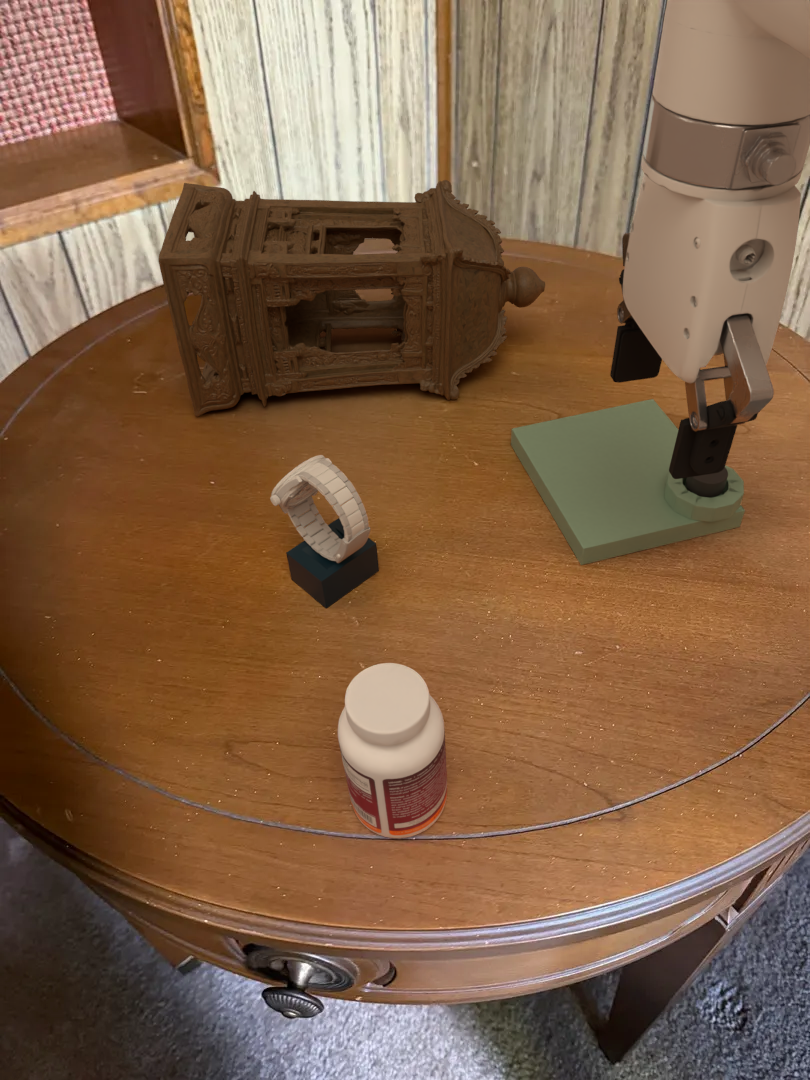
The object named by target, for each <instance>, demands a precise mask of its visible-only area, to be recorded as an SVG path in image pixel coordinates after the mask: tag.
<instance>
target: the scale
mask: <svg viewBox="0 0 810 1080" xmlns="http://www.w3.org/2000/svg"><path fill="white" fill-rule="evenodd" d="M678 430H679V427H677V426H676V425H675V424H674V422H673V421H672V420H671V419H670V417H669V416H668V415H667V414H666V413H665V411H663V409H662V408H661V407H660V406H659V404H658V402H656V400H655V399H654V398H651V399H645V400H641V401H637V402H631V403H626V404H621V405H616V406H612V407H607V408H603V409H598V410H594V411H589V412H584V413H579V414H574V415H570V416H565V417H560V418H555V419H550V420H546V421H541V422H536V423H532V424H526V425H521V426H517V427H513V428H511V432H510V433H511V434H510V446H511V448H512V449H513V451H514V453H515V455H516V457H517V458H518V460H519V461H520V463H521V465H522V466H523V468H524V470H525V472H526V474H527V475H528V477H529V478H530V480H531V482H532V484H533V486H534V487H535V489H536V491H537V493H538V494H539V496H540V498H541V500H542V501H543V502H544V505H545V506H546V508H547V510H548V511H549V513H550V515H551V517H552V518H553V519H554V521H555V523H556V525H557V526H558V529H559V530H560V532H561V533H562V535H563V537H564V539H565V540H566V542H567V544H568V545H569V547H570V549H571V551H572V552H573V554H574V556H575V557H576V559H577V561H578V562H579V564H580V566H584V565H588V564H592V563H596V562H599V561H605V560H609V559H612V558H616V557H617V558H618V557H621V556H625V555H629V554H633V553H637V552H642V551H646V550H649V549H654V548H657V547H658V548H659V547H662V546H667V545H671V544H675V543H679V542H683V541H687V540H692V539H696V538H700V537H704V536H708V535H711V534H717V533H721V532H725V531H729V530H732V529H737V528H741V525H742V522H743V519H744V515H745V512H746V509H745V508H744V507H743V506H742V502H743V498H744V495H745V482H744V480H743V478H742V477H741V476H740V475H739V474H738V473H737V472H736V470H735V469H734V468H733V467H731V466H728V465H727V464H726V465H725V468H726V469H727V471H728V477H727V481H726V484H725V488H724V491H723V492H722V493H721V494H720V495H719V496H716V497H712V498H708V497H701V496H698V495H696V494H694V493H692V492H690V491H689V490H688V489H687V487H686V478H681V479H674V478H673V477H672V475H671V474H670V472H669V467H670V463H671V459H672V455H673V450H674V446H675V442H676V438H677V434H678Z"/></svg>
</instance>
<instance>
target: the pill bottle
mask: <svg viewBox="0 0 810 1080" xmlns="http://www.w3.org/2000/svg"><path fill="white" fill-rule="evenodd" d="M428 687H429V686H428V685H427V682H426V680H425V679H424V678H423V677H422V676H421V674H420V673H419V672H417V671H416V670H415V669H413V668H411V667H409V666H408V665H404V664H401V663H396V662H382V663H377V664H374V665H371V666H368V667H366V668H364V669H363V670H361V671H360V672H359V673H357V674H356V675H355V676H354V677H353V678H352V679H351V680H350V682H349V684H348V686H347V688H346V691H345V695H344V706H343V708H342V711H341V713H340V715H339V718H338V722H337V739H338V740H337V741H338V746H339V751H340V755H341V761H342V765H343V769H344V774H345V779H346V784H347V789H348V795H349V799H350V804H351V806H352V809H353V812H354V813H355V816H356V817H357V819H358V820H359V821H360V823H361V824H362V825H363V826H364V827H365V828H367V829H368V830H369V831H370V832H372V833H375V834H377V835H378V836H381V837H385V838H390V839H405V838H411V837H415V836H417V835H420V834H421V833H423V832H425V831H427V830H428V829H430V828H431V827H432V826H433V825H434V824H435V823H436V822H437V821H438V820H439V818H440V816H441V815H442V813H443V811H444V809H445V806H446V803H447V798H448V770H447V749H446V731H445V730H446V729H445V721H444V716H443V713H442V710H441V708H440V706H439V704H438V703H437V701H436V700H435V699H434V697H433V696H432V695H431V694H430V689H429V688H428Z"/></svg>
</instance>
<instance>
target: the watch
mask: <svg viewBox="0 0 810 1080" xmlns="http://www.w3.org/2000/svg"><path fill="white" fill-rule="evenodd" d="M318 492H319V493H320V494H321V495H322V496H324V499H325V500H326V501H327V502H328V504H329V505H330V506H331V507H332V509H333V511H334V512H335V513H336V515H337V517H338V518H336V519H335V520H333V521H331V522H330V523H326V522H325V520H324V518H323V516H322V515H321V513H319V512H320V511H319V509H318V507H317V505H316V504H315V501H314V498H313V497H315V496H316V495H317V494H318ZM269 500H270V502H271V504H272V505H273V506H274V507H277V506H279V508H280V509H281V511H282V512H283V513H284V514H285V515H286V514H287V515H288V517H289V519H290V521H291V523H292V525H293V527H294V528H295V530H296V531H297V532H298V534H299V536H300V537H301V538H302V539H303V541H301V542H300V543H298V544H297V545H295V546H293V547H291V549H289V550H288V551H286V552H285V554H286V560H287V564H288V569H289V574H290V578H291V581H292V582H294V583H295V584H296V585H297V586H299V588H301V589H302V590H303V591H304V592H306V593H307V594H308V595H309V596H310V597H312V598H313V599H314V600H315V601H316V602H317V603H319V605H321V606H322V607H323V608H325V609H328V608H329V607H331V606H332V605H333V604H335V603H336V602H338V601H339V600H341V599H342V598H344V597H345V596H347V595H348V594H349V593H351V592H352V591H353V590H354V589H356V588H357V587H358V586H360V585H361V584H363V583H364V582H366V581H367V580H368V579H370V578H371V577H372V576H374V575H376V574H377V573H378V572H380V568H379V567H380V566H379V557H378V547H377V546H378V545H377V542H375V541H374V540H372V538H369V537H370V534H371V527H370V524H369V523H370V522H369V516H368V513H367V511H366V508H365V505H364V503H363V501H362V498H361V497H360V494H359V492H358V491H357V489H356V487H355V486H354V484H353V482H352V481H351V480H350V479H349V478H348V477H347V476H346V474H345V473H344V472H343V471H342V470H340V468H339V467H338V466H337V465H335V464H334V463H333V462H332V460H331V459H330V458H328V457H325V456H324V455H323V454H318V455H315V456H312V457H310V458H308V459H306V460H304V461H302V462H300V463H299V464H298V465H297V466H296V467H294V468H293V469H291V470H290V471H289V472H287V474H286V475H284V476H283V477H282V478H281V479H280V480H279V481H278V482H277V483H276V485H275V486H274V487H273V489H272V491H271V495H270V498H269Z"/></svg>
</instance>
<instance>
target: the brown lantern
mask: <svg viewBox="0 0 810 1080" xmlns="http://www.w3.org/2000/svg"><path fill="white" fill-rule="evenodd" d="M452 188H453V187H452V183H451V182H450V180H448V179H444V180H439V181H438V182H437V183H436V186H435V187H431V188H429V189H427V190H426V191H423V192H416V193H415V194H414V202H412V201H411V202H410V201H366V200H365V201H363V200H361V201H358V200H356V201H355V200H327V199H326V200H325V199H284V198H283V199H279V198H278V199H276V198H274V199H273V198H261V195H260V194H258V193H257V192H256V191H255V190H253V191H252V194H250V195H249V198H245V199H244V200H236V198H233V194H232V192H231V191H229V189H228V188H224V187H220V186H209V185H203V184H198V183H188V182H184V183H183V186H182V190H181V193H180V196H179V198H178V201H177V203H176V206H175V208H174V211H173V213H172V216H171V219H170V222H169V224H168V227H167V231H166V233H165V235H164V239H163V242H162V245H161V249H160V251H159V254H158V265H159V269H160V275H161V278H162V279H161V280H162V282H163V288H164V292H165V295H166V300H167V305H168V309H169V313H170V317H171V321H172V326H173V331H174V333H175V337H176V343H177V347H178V352H179V355H180V359H181V362H182V366H183V370H184V375H185V378H186V383H187V388H188V393H189V396H190V400H191V405H192V409H193V414H194V416H195V417H199V416H201V415H203V414H206V413H208V412H211V411H219V410H226V409H231V408H233V407H235V406H236V405H237V404H238V402H239V401H240V399H241V396H242V395H244V394H245V393H246V394H247V393H251V395H257V397H258V399H259V400H261V403H262V406H263V407H264V408H265V407H266V406H267V400H268V398H269V397H272V396H273V397H274V396H276V397H282V396H285V395H286V394H294V393H295V394H296V393H305V392H315V391H327V390H329V391H330V390H340V389H349V388H359V387H369V386H381V385H383V386H385V385H409V384H411V385H412V384H419V390H420V391H421V392H427V391H428V392H429V393H434V394H436V395H440V396H444V397H445V399H446V400H447V401H450V400H457V399H458V398H459V396H460V389H459V387H458V386H457V385H459V383H460V380H461V379H464V378H466V377H467V376H468V375H467V374H469V373H470V374H472V372H473V370H476V369H479V368H480V366H481V364H488V363H491V362H493V359H492V358H491V357H494V356H497V355H498V352H497V349H498V348H499V347H500V345H502V344H503V343H504V342H506V340H507V338H508V335H506V333H507V329H506V327H505V326H506V322H507V320H508V316H506V315H505V314H506V309H503V308H504V307H505V305H506V303H507V302H509V303H510V304H511V305H514V306H515V307H516V308H526V307H529V306H531V305H533V303H535V301H536V300H537V299H538V298H539V297H540V295H541V294H542V293H544V292H545V291H546V290H545V289H546V282H545V281H544V280H542V279H541V278H540V276H539V275H538V274H537V273H536V272H535V271H534V270H533V269H532V268H530V267H528V266H517V267H516V268H515V269H513V271H512V270H511V269H509V268H507V267H506V266H505V261H504V260H503V258H502V257H503V256H502V254H503V253H504V252H505V249H504V248H503V247H502V245H501V244H502V243H503V239H502V238H501V236H500V235H499V234H502V231H501V230H500V229H499V228H498V227H496V226H495V225H496V222H495V221H493V220H491V219H490V220H489V219H488V216H487V215H485V214H479V210H477V209H472V208H471V207H470V208H469V206H470V204H469V203H461V200H460V199H456V198H457V197H456V196H455V195H454V194H453V190H452ZM189 233H193V237H192V238H191V240H187V237H188V234H189ZM367 239H368V240H369V239H371V240H372V239H373V240H374V239H375V240H376V239H380V240H381V239H382V240H383V239H384V240H390V241H391V243H392V244H393V246H392V247H391V249H392V251H395V252H396V253H368V254H366V253H360V254H359V253H357V254H354V252H355V251H356V250H357V249H358V248H359V246H360V245H361V244H364V243H365V240H367ZM358 290H359V291H361V290H362V291H363V290H367V291H368V290H390V292H391V293H390V295H393V296H392V298H391V299H384V300H383V299H382V300H366V299H364V298H362V296H360V294H359V293H358V292H357V291H358ZM189 294H192V295H193V296H201V300H200V301H201V302H200V306H199V308H198V310H197V313H196V315H195V317H194V320H193V321H192V324H191V325H190V323H189V320H188V315H187V310H186V306H185V302H186V300H187V297H188V296H189ZM355 329H356V330H366V329H367V330H368V329H369V330H370V329H394V330H392V331H391V333H390V334H391V335H392V336H394V337H398V336H400V337H401V343H399V342H393V343H391V344H390V345H391V346H390V348H388V349H372V350H357V351H356V350H355V351H344V352H343V351H341V352H339V351H337V352H333V351H332V331H333V330H355ZM322 333H324V334H325V337H324V336H323V337H321V334H322ZM322 348H324V349H322ZM198 358H200V359H201V360H202V361H203V362H204V366H203V369H202V371H201V366H200V363H199V360H198Z"/></svg>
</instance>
